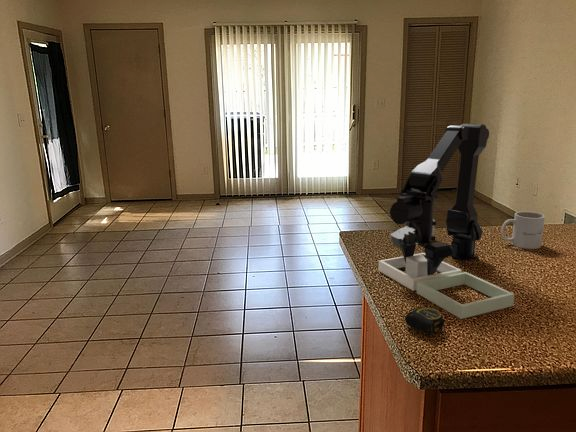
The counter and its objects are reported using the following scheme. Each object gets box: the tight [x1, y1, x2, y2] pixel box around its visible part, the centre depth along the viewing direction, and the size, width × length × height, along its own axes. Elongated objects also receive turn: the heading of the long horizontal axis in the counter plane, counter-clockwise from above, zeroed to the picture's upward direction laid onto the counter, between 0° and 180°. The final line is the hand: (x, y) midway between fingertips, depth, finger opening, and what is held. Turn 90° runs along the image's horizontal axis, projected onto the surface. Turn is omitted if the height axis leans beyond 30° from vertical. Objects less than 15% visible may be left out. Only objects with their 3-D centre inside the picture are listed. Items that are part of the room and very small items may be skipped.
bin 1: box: [377, 252, 463, 292], centre depth 131 cm, size 16×16×3 cm
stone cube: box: [404, 255, 428, 278], centre depth 130 cm, size 5×5×5 cm
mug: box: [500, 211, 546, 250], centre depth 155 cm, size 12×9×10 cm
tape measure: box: [404, 307, 445, 336], centre depth 102 cm, size 7×7×4 cm
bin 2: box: [416, 271, 515, 320], centre depth 116 cm, size 16×16×3 cm
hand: (418, 272), depth 131 cm, fingers open, 9 cm apart
